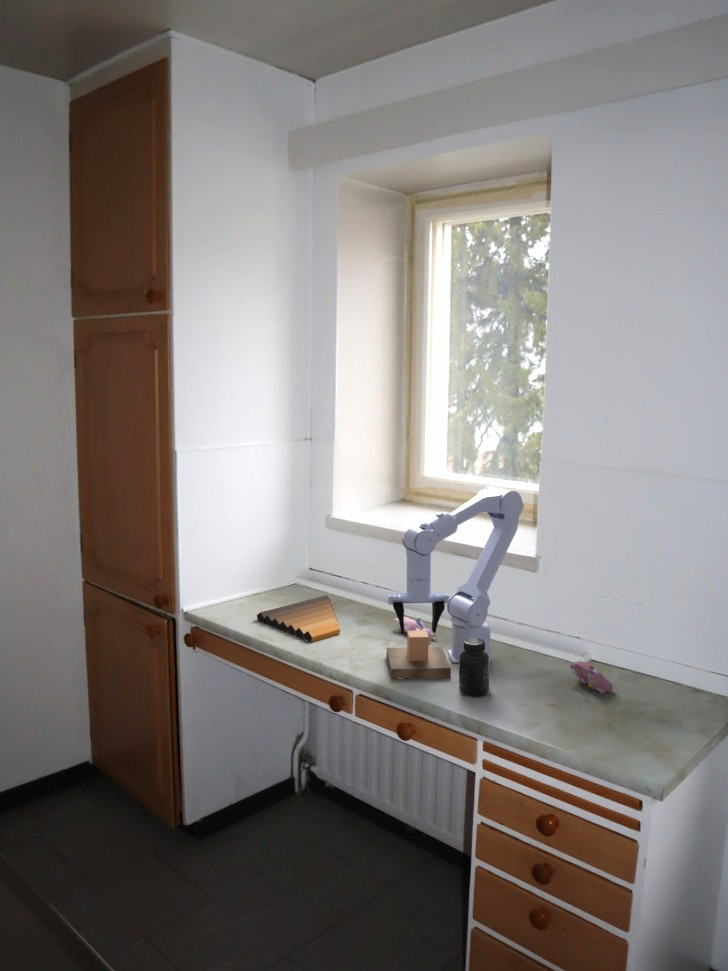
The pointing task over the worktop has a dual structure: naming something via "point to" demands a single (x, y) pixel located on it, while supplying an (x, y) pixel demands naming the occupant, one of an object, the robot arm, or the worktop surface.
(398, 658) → the walnut base board
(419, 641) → the rust block
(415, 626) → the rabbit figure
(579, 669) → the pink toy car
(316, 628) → the pan flute
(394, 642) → the worktop surface
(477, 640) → the supplement bottle
